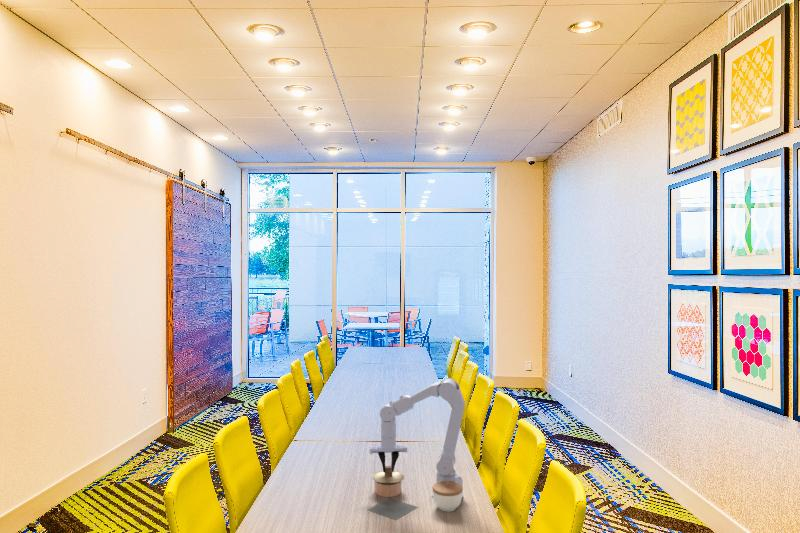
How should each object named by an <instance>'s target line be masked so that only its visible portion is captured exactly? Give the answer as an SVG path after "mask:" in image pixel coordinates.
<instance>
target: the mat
mask: <svg viewBox="0 0 800 533" xmlns="http://www.w3.org/2000/svg"><path fill="white" fill-rule="evenodd" d="M418 508H419V507H418V506H416V505H413V504H410V503H406V502H403V501H400V500H398V499H395V498H393V497H392V498H391V497H388V498H387V499H385V500H383V501H381V502H379V503H378V504H376V505H373V506H372V507H369V508H367V511H369V512H372V513H375V514H378V515H381V516H383V517H386V518H389V519H392V520H394V521H397V520H399V519H400V518H402V517H404V516H405V515H407V514H409V513H411V512H413V511H414V510H416V509H418Z"/></svg>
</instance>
